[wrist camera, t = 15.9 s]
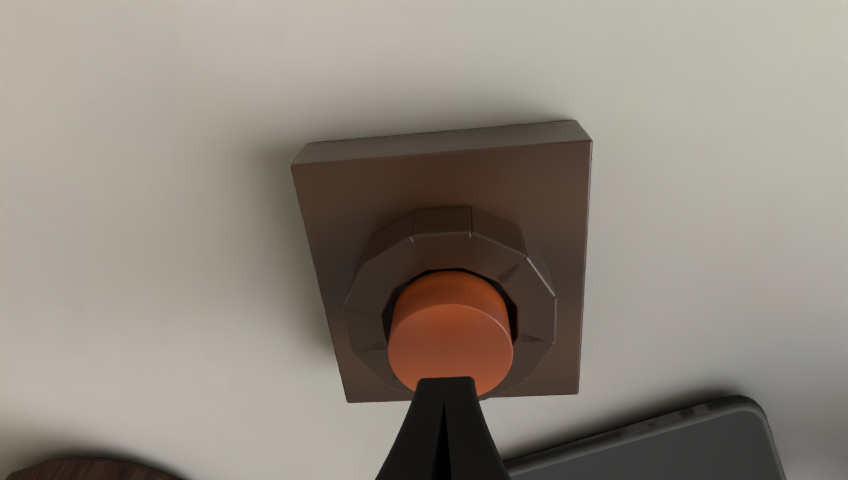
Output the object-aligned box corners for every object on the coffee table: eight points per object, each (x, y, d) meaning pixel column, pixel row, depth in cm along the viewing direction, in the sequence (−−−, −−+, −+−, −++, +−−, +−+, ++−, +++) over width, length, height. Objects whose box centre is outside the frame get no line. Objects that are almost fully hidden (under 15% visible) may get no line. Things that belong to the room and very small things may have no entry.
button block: (567, 355, 21) (590, 433, 18) (355, 365, 22) (337, 441, 18) (577, 119, 16) (610, 161, 13) (307, 142, 17) (269, 188, 14)
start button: (508, 359, 17) (514, 399, 15) (400, 364, 17) (395, 403, 15) (505, 266, 15) (511, 300, 13) (386, 273, 15) (378, 308, 14)
